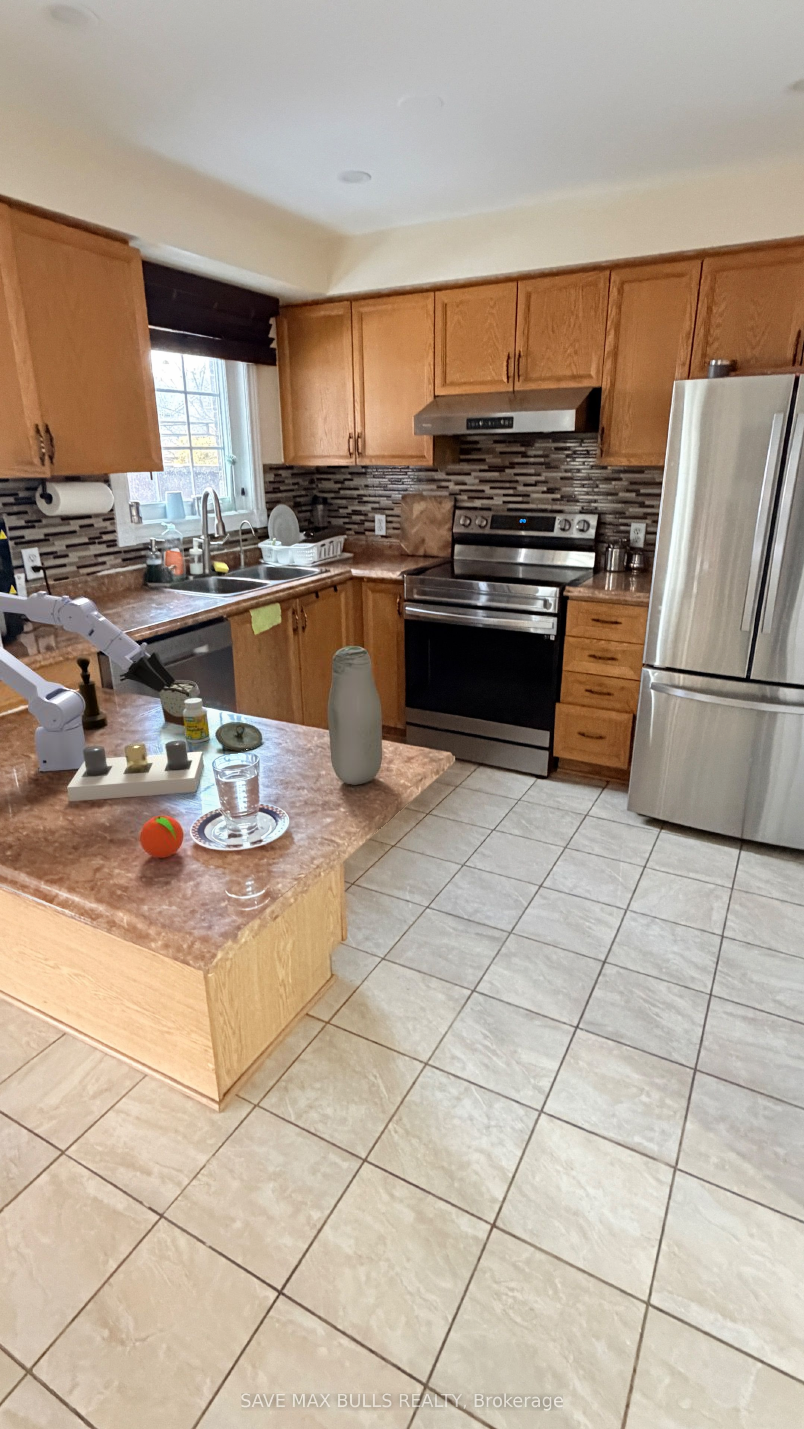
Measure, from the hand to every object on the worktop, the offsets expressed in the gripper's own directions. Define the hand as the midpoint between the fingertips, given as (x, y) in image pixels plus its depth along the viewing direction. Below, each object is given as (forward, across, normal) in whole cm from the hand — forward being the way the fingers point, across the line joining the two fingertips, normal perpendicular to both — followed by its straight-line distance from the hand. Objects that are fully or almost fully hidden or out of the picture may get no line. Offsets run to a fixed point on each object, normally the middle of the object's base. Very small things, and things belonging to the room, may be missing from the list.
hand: (167, 686), depth 156 cm
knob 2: (+12, -4, +11) cm, 17 cm away
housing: (+8, -4, +18) cm, 20 cm away
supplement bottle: (+11, +19, +10) cm, 24 cm away
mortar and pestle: (-11, +32, +28) cm, 43 cm away
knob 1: (+1, -6, +22) cm, 22 cm away
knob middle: (+7, -5, +16) cm, 18 cm away
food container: (+6, +31, +12) cm, 34 cm away
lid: (+19, +14, +4) cm, 24 cm away
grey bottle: (+42, -9, -11) cm, 44 cm away
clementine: (+21, -35, +14) cm, 43 cm away
